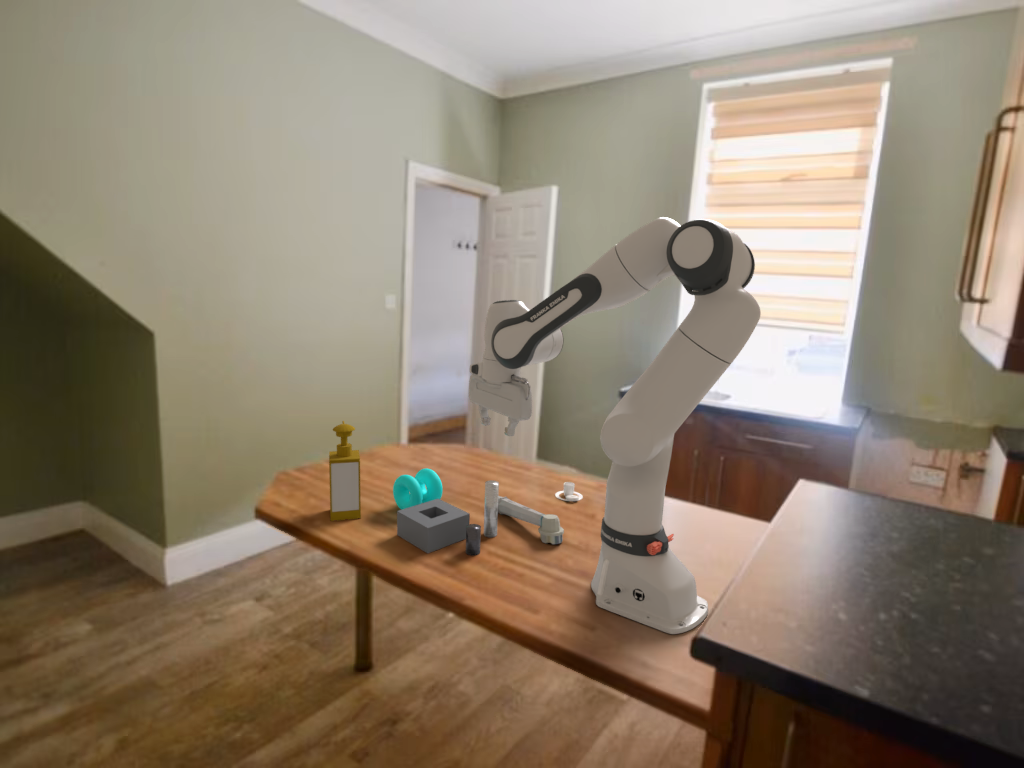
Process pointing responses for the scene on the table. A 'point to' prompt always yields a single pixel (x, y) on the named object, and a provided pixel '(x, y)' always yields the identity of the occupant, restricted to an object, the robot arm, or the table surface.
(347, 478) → the soap bottle
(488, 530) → the long pin
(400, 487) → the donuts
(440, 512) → the hole block
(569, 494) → the teacup and saucer
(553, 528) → the toothbrush head
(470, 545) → the short pin
